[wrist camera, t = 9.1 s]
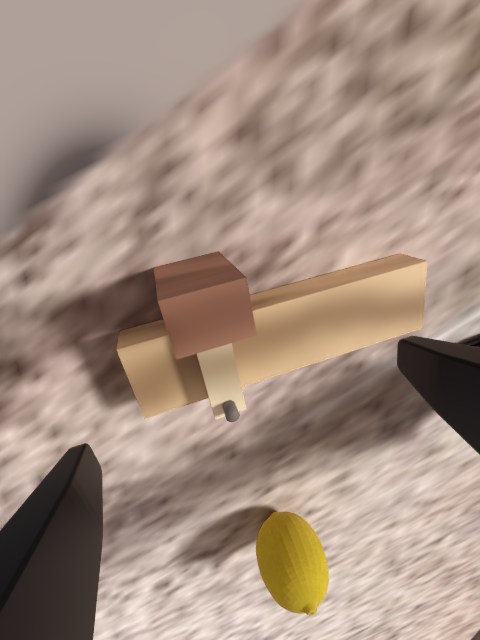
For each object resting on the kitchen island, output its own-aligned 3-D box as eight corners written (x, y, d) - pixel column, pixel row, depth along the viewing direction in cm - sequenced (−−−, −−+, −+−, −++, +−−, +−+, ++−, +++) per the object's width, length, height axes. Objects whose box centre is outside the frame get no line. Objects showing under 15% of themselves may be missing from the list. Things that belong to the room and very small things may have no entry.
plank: (398, 315, 25) (422, 328, 23) (144, 395, 22) (144, 418, 20) (400, 253, 23) (427, 261, 21) (119, 331, 20) (116, 349, 18)
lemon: (235, 513, 29) (265, 620, 22) (288, 481, 29) (334, 577, 22) (259, 542, 32) (292, 646, 25) (308, 513, 32) (355, 607, 25)
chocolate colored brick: (244, 371, 24) (273, 426, 18) (191, 388, 23) (205, 450, 18) (218, 251, 20) (246, 277, 14) (153, 267, 19) (157, 301, 14)
